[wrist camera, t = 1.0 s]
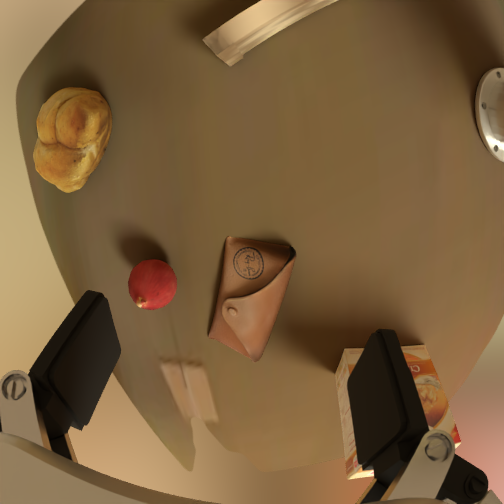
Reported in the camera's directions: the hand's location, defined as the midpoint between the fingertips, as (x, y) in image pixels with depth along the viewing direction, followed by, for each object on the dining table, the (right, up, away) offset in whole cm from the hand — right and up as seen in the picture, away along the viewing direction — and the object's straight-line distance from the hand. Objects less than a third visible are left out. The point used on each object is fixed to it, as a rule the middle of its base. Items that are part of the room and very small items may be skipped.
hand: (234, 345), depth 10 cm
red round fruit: (-11, +1, +27) cm, 29 cm away
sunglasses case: (0, -3, +28) cm, 29 cm away
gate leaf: (+5, +26, +11) cm, 28 cm away
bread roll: (-19, +17, +19) cm, 32 cm away
